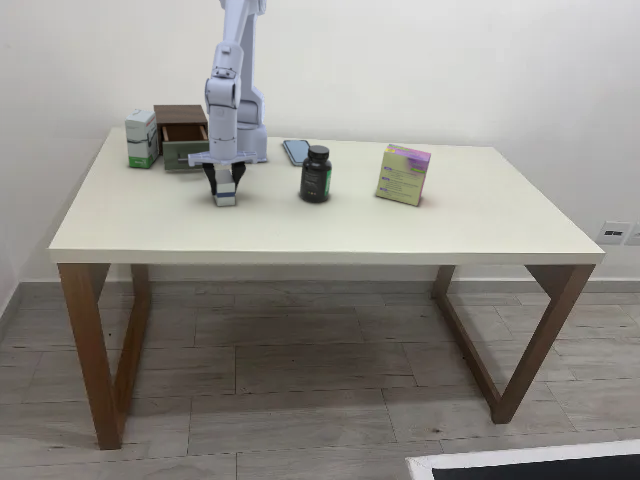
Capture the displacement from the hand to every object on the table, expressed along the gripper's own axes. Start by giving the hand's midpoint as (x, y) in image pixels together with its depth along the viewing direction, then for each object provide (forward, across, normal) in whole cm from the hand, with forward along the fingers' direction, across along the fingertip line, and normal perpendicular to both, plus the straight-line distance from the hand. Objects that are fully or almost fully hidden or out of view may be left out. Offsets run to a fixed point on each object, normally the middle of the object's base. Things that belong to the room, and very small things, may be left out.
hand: (223, 192), depth 111 cm
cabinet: (+1, -6, +32) cm, 33 cm away
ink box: (+2, -16, +22) cm, 27 cm away
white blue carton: (+1, 0, 0) cm, 1 cm away
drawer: (+1, -6, +18) cm, 19 cm away
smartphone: (+1, +25, +22) cm, 33 cm away
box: (+2, +42, -5) cm, 42 cm away
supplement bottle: (+2, +21, -2) cm, 21 cm away
